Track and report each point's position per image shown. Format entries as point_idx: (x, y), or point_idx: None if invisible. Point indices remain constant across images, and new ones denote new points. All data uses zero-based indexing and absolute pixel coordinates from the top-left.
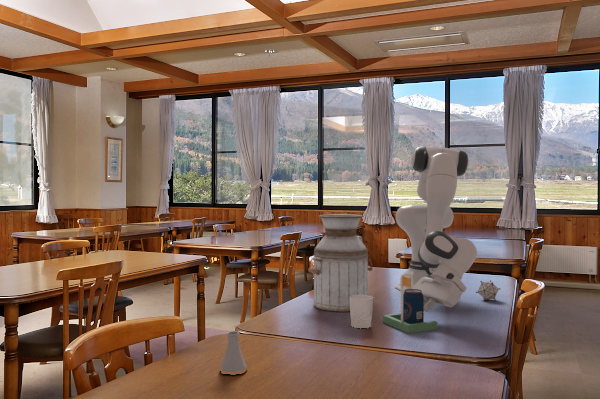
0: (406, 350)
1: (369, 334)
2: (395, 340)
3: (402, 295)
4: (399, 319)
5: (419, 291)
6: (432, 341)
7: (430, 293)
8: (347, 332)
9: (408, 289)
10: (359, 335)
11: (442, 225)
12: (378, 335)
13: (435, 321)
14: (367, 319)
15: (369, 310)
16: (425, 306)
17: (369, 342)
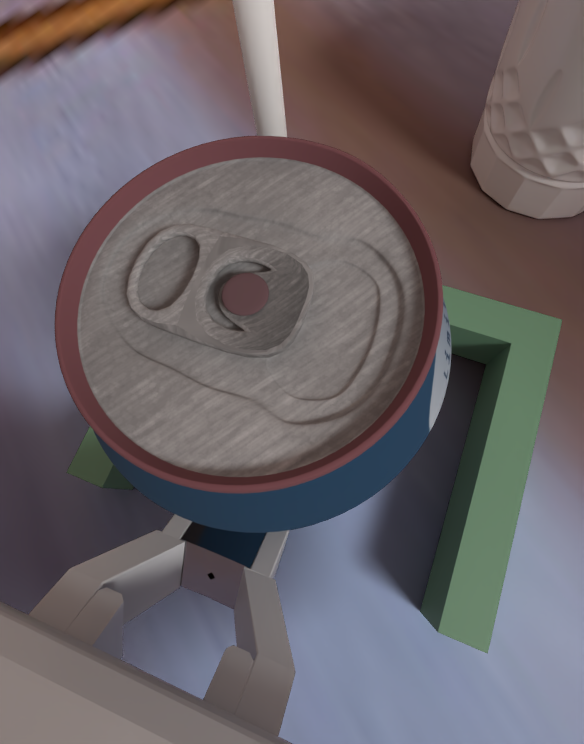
0: (72, 43)
1: (370, 89)
2: (194, 108)
3: (240, 11)
4: (466, 459)
5: (147, 409)
6: (23, 225)
7: (36, 722)
8: (485, 36)
9: (423, 349)
10: (395, 45)
11: None
12: (321, 108)
13: (86, 472)
14: (489, 94)
15: (512, 31)
16: (174, 519)
17: None
